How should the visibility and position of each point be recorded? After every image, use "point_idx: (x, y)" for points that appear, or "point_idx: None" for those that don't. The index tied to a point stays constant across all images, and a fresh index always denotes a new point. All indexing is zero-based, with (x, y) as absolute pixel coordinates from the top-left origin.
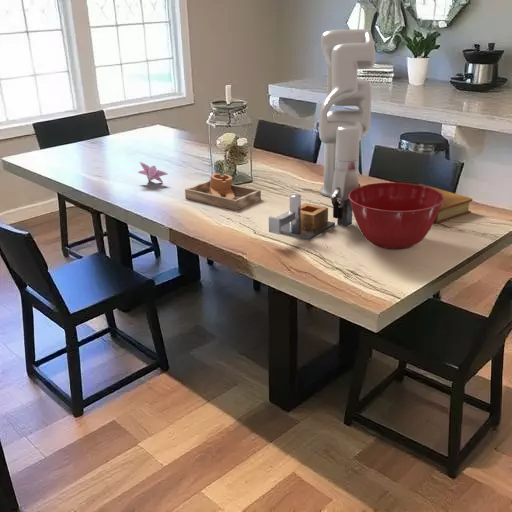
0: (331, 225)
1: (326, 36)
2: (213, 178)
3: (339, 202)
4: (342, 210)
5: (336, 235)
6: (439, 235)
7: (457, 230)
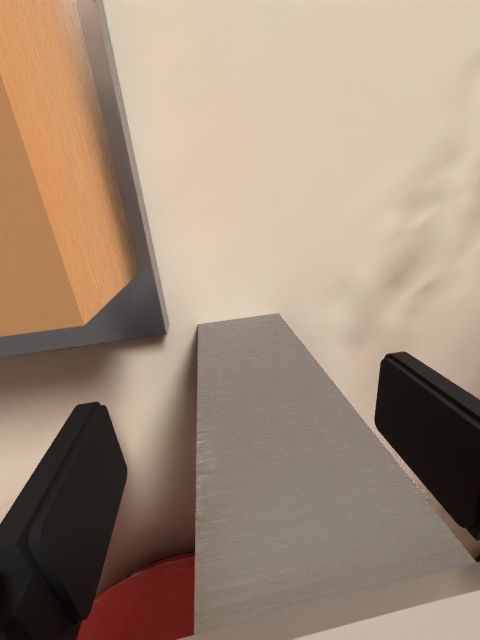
0: (107, 340)
1: None
2: None
3: (200, 532)
4: (94, 575)
5: (33, 440)
6: None
7: None
